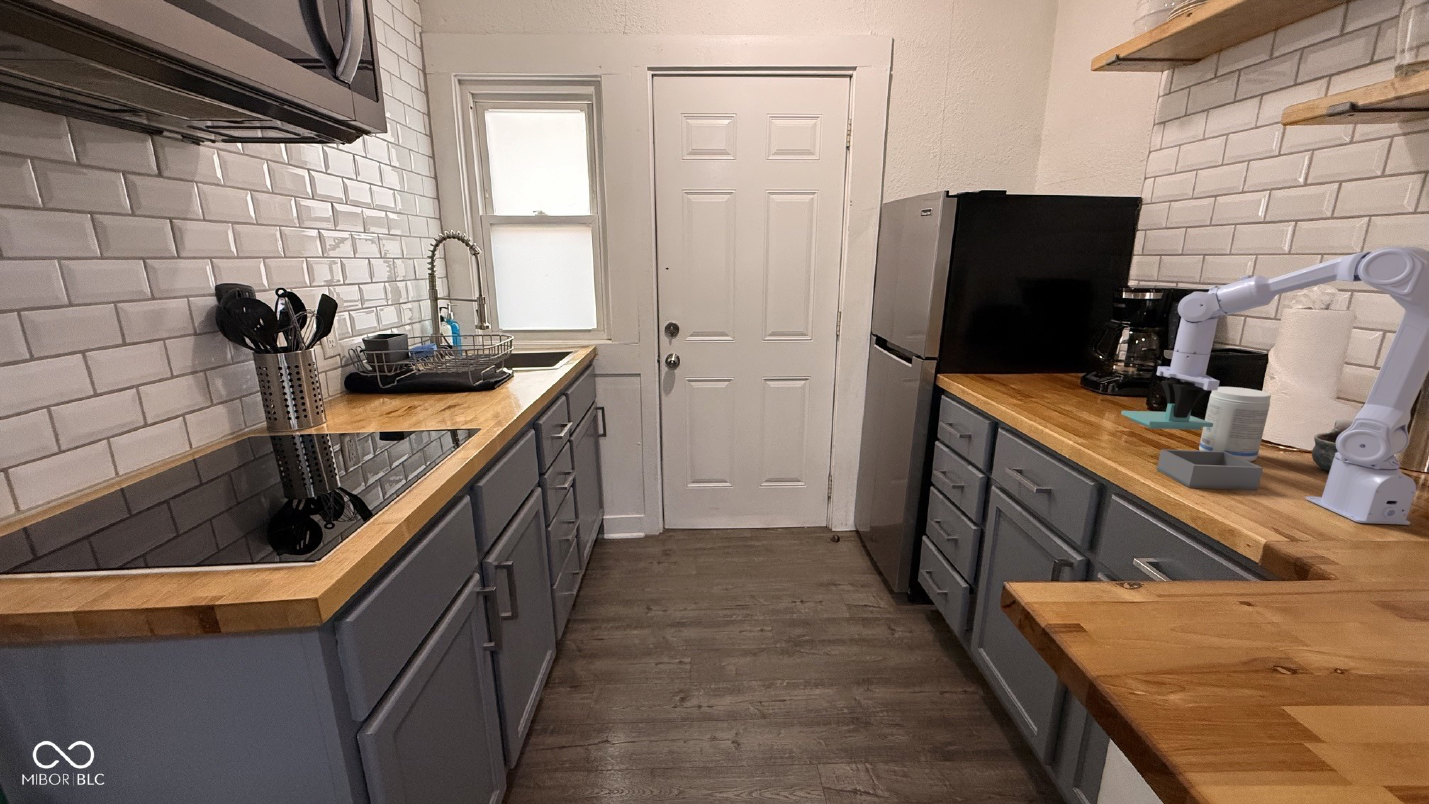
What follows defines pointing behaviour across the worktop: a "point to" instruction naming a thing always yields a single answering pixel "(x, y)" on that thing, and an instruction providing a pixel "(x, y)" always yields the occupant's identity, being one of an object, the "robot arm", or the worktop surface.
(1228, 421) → the supplement tub
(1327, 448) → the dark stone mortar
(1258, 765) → the worktop surface
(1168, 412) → the lid
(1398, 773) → the worktop surface
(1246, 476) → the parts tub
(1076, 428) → the worktop surface
